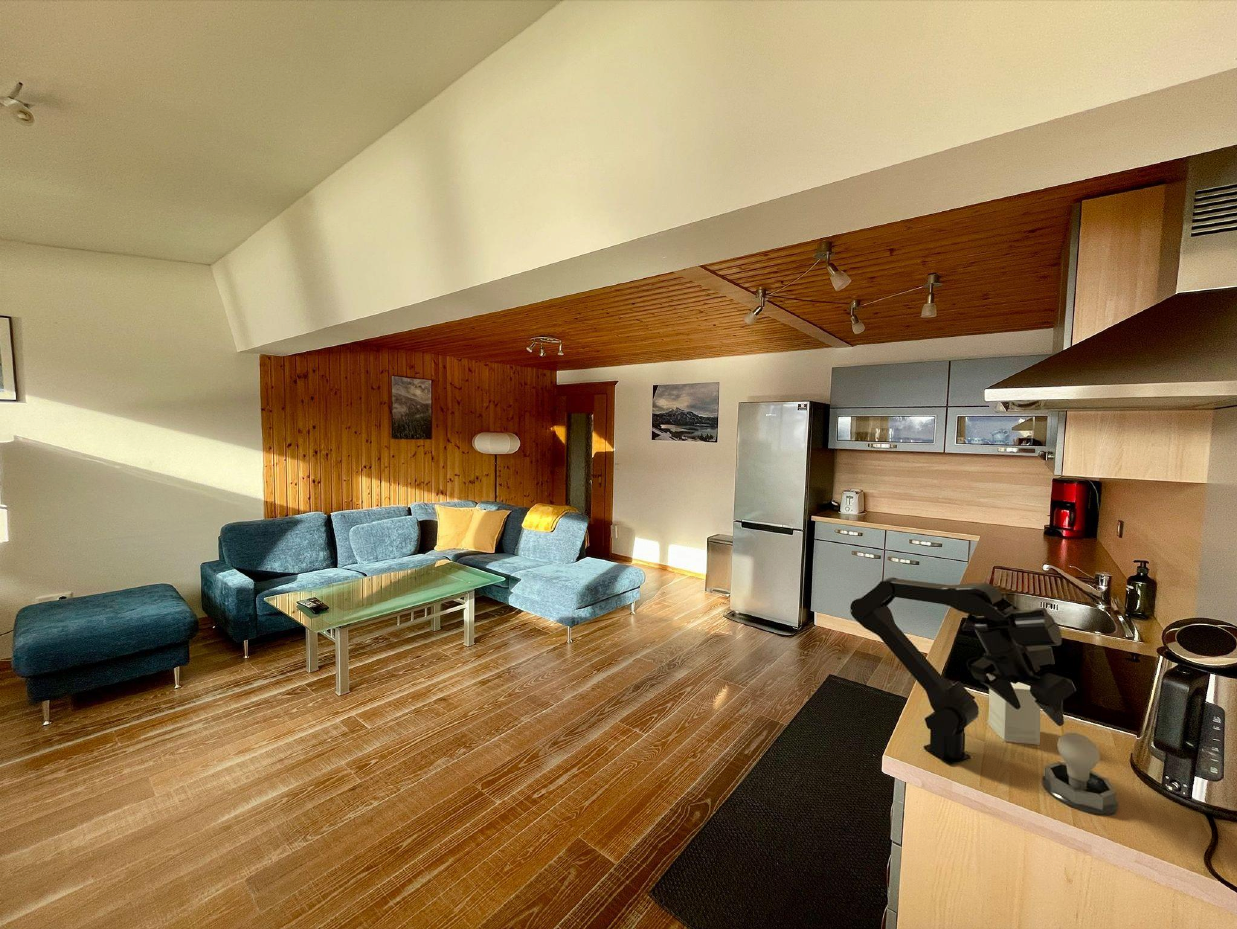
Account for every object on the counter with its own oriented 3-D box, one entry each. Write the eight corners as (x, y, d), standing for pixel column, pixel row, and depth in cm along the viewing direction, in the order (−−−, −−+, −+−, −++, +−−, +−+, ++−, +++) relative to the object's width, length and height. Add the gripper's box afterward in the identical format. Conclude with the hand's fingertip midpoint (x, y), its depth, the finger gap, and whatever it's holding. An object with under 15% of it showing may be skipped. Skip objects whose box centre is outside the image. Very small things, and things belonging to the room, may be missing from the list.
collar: (1094, 821, 92) (1095, 804, 92) (1028, 783, 103) (1029, 767, 103) (1132, 806, 96) (1133, 790, 96) (1064, 770, 106) (1065, 755, 106)
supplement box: (1041, 745, 115) (1042, 690, 114) (1003, 742, 116) (1005, 688, 116) (1022, 727, 122) (1023, 675, 121) (987, 724, 124) (988, 673, 123)
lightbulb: (1055, 790, 100) (1056, 735, 99) (1058, 775, 104) (1059, 722, 104) (1098, 805, 95) (1099, 748, 95) (1100, 789, 100) (1100, 734, 99)
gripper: (1076, 635, 96) (1118, 712, 95) (992, 618, 115) (1026, 682, 114) (1031, 665, 94) (1073, 743, 93) (953, 643, 113) (988, 708, 112)
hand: (1038, 716), depth 103 cm, fingers open, 9 cm apart
